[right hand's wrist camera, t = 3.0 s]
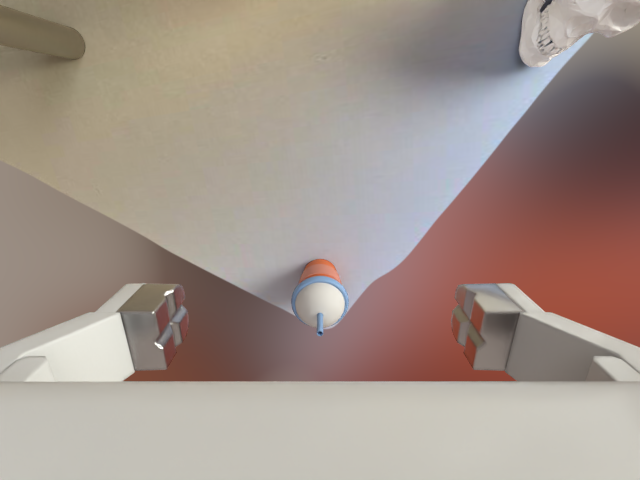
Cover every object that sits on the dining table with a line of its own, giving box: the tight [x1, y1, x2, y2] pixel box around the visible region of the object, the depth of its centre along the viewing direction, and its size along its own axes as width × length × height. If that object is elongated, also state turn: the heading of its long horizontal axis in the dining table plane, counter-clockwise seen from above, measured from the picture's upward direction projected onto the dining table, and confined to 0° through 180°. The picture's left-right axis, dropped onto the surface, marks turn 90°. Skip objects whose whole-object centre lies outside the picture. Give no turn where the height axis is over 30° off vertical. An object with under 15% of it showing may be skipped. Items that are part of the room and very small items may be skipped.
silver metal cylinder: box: [0, 5, 85, 59], centre depth 41 cm, size 4×4×19 cm
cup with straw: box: [291, 259, 349, 336], centre depth 55 cm, size 9×9×18 cm
